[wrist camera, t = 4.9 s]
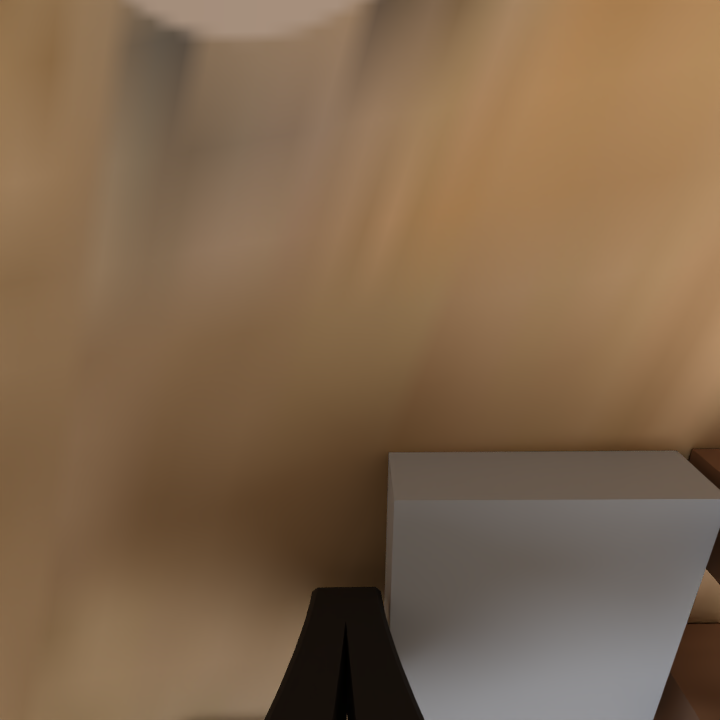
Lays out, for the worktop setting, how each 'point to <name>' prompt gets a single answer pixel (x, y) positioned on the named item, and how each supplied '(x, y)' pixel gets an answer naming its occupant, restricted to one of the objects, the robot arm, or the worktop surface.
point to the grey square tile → (543, 579)
